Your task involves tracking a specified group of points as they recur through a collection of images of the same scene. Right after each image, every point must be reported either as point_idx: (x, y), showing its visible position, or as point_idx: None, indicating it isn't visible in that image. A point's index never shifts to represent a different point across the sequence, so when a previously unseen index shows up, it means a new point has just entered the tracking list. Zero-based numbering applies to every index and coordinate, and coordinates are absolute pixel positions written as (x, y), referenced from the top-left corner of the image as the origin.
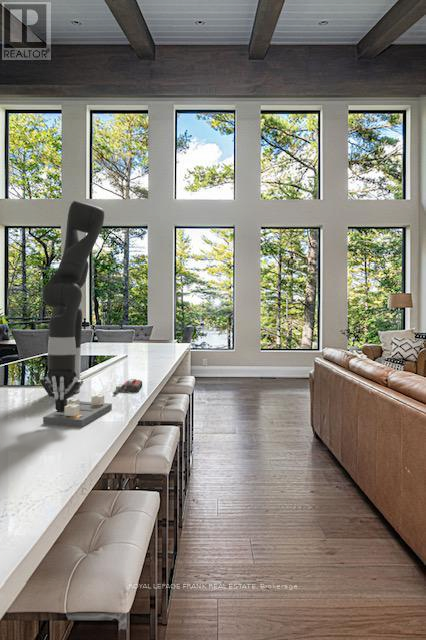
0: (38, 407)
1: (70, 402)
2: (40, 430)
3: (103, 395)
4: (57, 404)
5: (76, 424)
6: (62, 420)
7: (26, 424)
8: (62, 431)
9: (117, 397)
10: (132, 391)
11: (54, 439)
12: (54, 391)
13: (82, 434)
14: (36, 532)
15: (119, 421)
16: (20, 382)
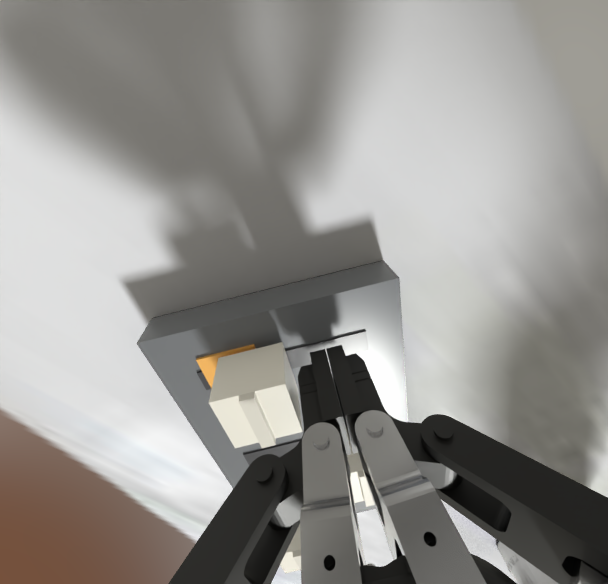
0: (548, 409)
1: (357, 459)
2: (306, 154)
3: (283, 569)
4: (348, 381)
5: (181, 317)
6: (266, 303)
7: (464, 206)
8: (171, 209)
9: None
10: None
11: (34, 19)
12: (417, 479)
13: (12, 224)
14: None
15: (98, 446)
16: None
